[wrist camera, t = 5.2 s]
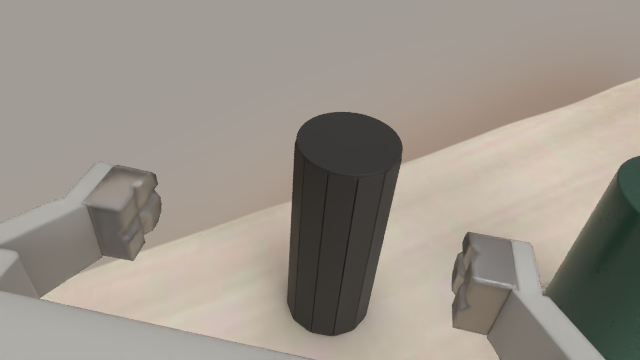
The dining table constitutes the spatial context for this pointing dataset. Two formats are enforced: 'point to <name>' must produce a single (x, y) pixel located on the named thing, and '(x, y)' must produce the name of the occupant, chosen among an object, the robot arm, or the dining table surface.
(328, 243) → the ribbed black grip post
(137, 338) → the robot arm
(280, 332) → the dining table surface
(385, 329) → the dining table surface
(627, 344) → the flask
